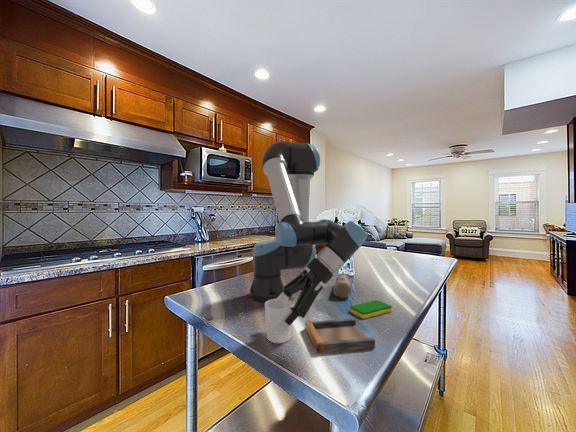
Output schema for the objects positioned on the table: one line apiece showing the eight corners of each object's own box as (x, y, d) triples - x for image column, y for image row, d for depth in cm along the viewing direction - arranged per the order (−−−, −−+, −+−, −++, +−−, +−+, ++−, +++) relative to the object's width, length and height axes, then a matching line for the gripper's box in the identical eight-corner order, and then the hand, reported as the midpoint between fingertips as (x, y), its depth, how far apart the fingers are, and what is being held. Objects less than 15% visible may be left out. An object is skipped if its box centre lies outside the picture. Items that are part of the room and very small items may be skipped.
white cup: (264, 331, 77) (264, 298, 77) (290, 330, 78) (290, 298, 78) (264, 345, 70) (264, 309, 69) (293, 344, 70) (293, 308, 70)
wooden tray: (354, 324, 82) (354, 316, 82) (375, 347, 69) (375, 338, 68) (305, 328, 79) (305, 320, 79) (317, 353, 66) (317, 343, 66)
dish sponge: (349, 312, 93) (349, 305, 92) (377, 305, 99) (377, 299, 99) (363, 320, 86) (363, 313, 86) (392, 312, 93) (392, 305, 92)
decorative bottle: (351, 299, 105) (351, 283, 105) (332, 297, 107) (332, 282, 107) (353, 281, 130) (353, 268, 129) (338, 280, 132) (338, 267, 131)
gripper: (350, 286, 63) (291, 352, 61) (320, 264, 88) (277, 311, 86) (330, 266, 62) (269, 332, 60) (305, 250, 87) (261, 296, 85)
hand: (274, 320), depth 73 cm, fingers open, 13 cm apart
